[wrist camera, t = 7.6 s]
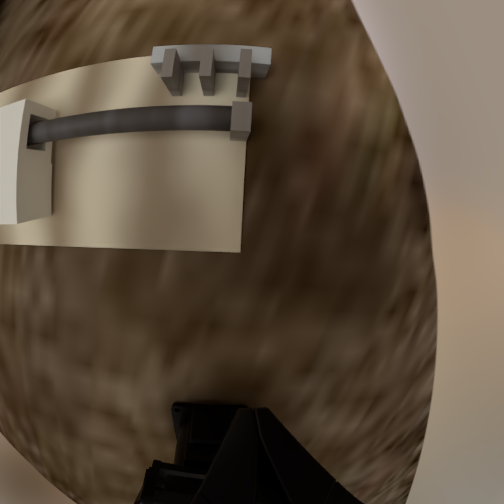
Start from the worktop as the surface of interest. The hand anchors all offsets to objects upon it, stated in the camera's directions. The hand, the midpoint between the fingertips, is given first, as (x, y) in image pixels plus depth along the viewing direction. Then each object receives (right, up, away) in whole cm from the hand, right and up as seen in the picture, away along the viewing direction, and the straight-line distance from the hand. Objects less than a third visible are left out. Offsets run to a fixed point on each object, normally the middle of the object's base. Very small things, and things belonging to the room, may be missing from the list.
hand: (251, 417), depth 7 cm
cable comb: (-12, +12, +9) cm, 19 cm away
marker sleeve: (-16, +11, +8) cm, 20 cm away
